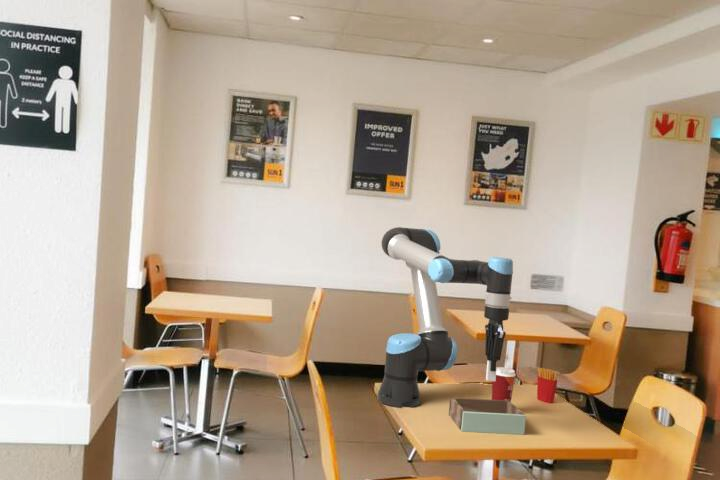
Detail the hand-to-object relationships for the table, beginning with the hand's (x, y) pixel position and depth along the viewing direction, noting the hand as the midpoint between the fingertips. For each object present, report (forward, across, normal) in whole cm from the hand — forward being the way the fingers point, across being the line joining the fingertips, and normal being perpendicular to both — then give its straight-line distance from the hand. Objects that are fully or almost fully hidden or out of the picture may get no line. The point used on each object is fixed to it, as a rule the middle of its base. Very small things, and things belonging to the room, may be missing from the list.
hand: (490, 380), depth 194 cm
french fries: (+16, +36, -34) cm, 52 cm away
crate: (+16, +1, 0) cm, 16 cm away
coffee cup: (+16, +18, -11) cm, 26 cm away
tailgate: (+14, -6, 0) cm, 15 cm away
